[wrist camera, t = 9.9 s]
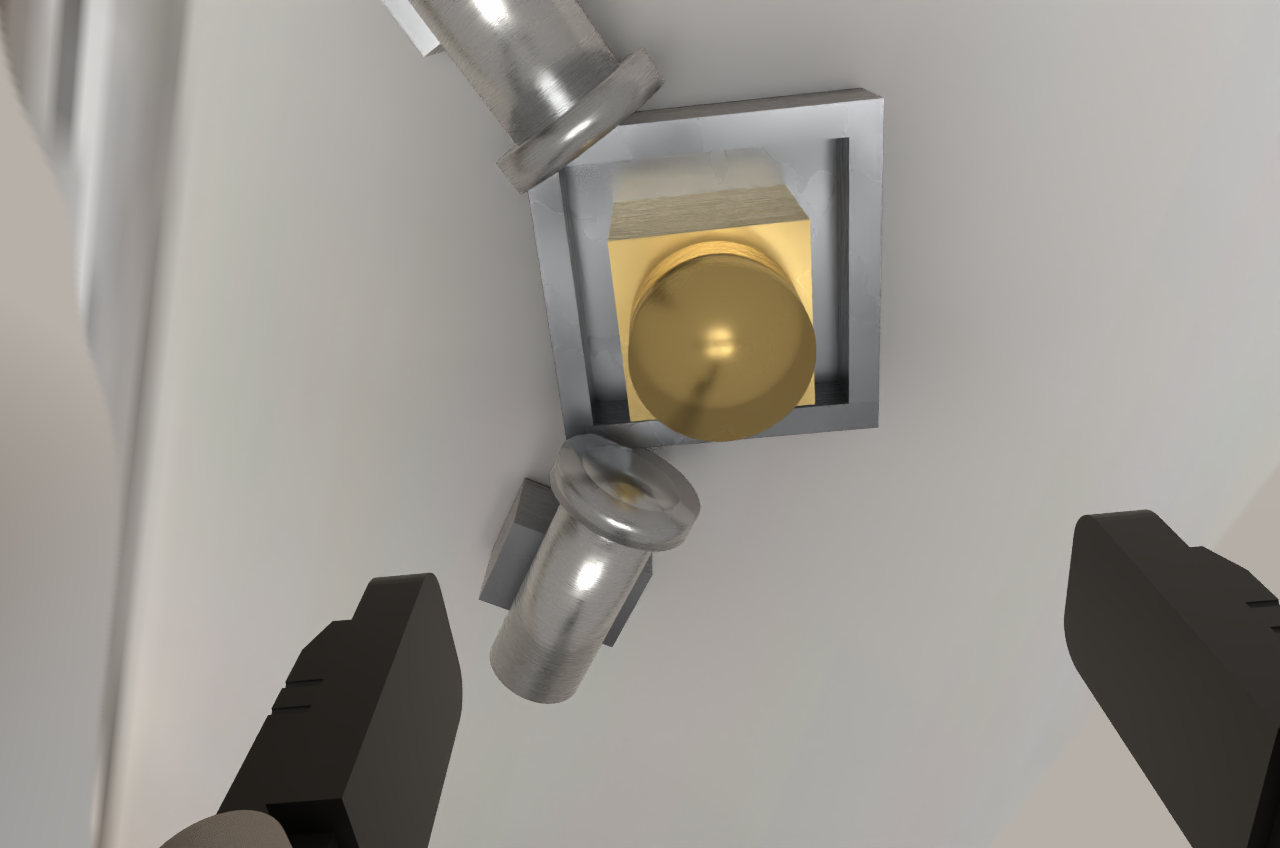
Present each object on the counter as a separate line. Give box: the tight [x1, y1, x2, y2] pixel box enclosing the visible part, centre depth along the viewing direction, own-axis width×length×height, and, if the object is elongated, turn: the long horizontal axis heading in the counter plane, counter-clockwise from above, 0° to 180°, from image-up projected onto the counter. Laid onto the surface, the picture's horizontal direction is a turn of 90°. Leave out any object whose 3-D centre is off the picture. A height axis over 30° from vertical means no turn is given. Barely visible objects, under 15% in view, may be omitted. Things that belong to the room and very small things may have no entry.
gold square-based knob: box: [608, 184, 817, 442], centre depth 22 cm, size 4×4×6 cm
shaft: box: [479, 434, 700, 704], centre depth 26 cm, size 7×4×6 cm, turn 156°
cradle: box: [528, 88, 884, 449], centre depth 24 cm, size 9×9×2 cm
